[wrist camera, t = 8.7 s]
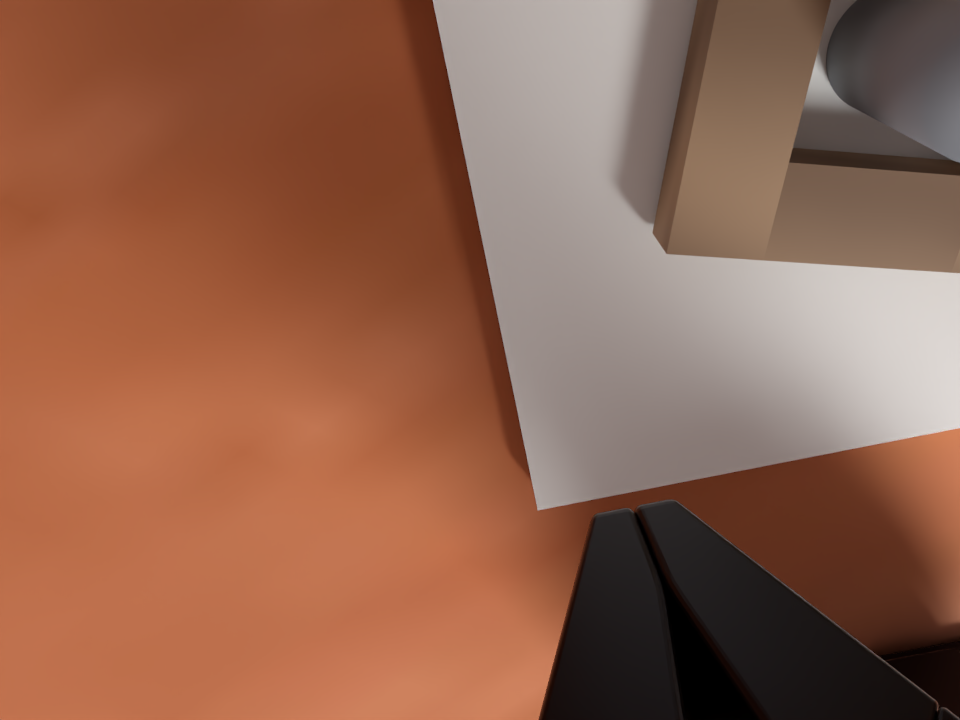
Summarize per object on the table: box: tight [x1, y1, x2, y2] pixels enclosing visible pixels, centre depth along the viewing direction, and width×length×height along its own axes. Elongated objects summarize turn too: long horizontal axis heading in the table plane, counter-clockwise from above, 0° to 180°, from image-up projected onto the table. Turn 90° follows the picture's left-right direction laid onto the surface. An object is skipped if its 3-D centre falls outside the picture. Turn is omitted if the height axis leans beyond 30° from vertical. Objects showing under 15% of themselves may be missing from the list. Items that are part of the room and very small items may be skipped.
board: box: [433, 0, 960, 510], centre depth 16 cm, size 19×17×5 cm
